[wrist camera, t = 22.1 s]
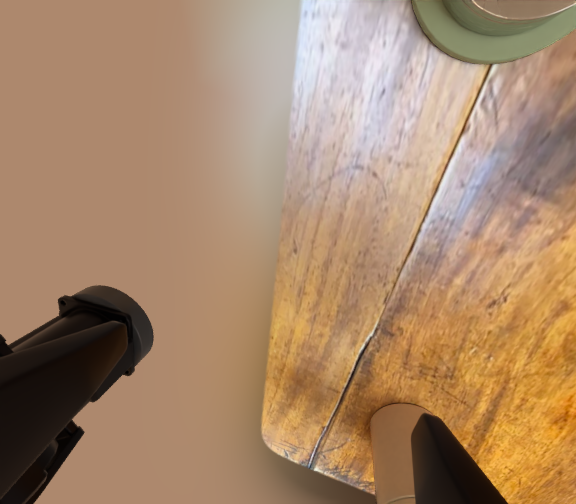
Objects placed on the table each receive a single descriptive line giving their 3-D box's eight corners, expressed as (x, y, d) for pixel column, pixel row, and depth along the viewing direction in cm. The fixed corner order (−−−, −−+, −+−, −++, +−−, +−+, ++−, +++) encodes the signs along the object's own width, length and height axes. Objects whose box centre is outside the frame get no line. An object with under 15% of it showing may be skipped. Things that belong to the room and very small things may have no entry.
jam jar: (361, 439, 25) (368, 566, 17) (381, 394, 22) (398, 517, 15) (426, 459, 24) (462, 600, 17) (452, 415, 22) (507, 554, 14)
